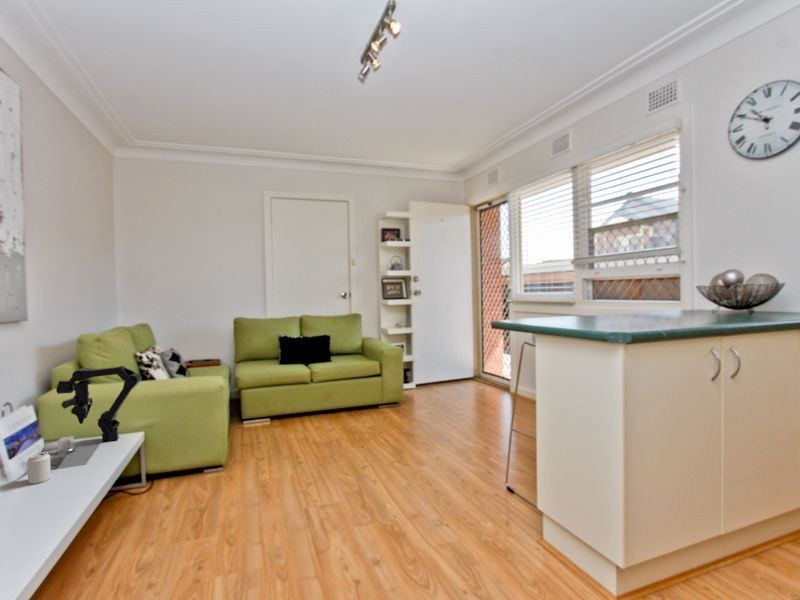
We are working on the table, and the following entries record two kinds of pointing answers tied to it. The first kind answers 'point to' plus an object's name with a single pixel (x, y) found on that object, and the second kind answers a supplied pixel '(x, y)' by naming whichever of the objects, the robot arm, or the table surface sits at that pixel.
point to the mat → (78, 456)
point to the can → (39, 467)
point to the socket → (65, 443)
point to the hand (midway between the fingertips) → (83, 421)
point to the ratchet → (60, 457)
